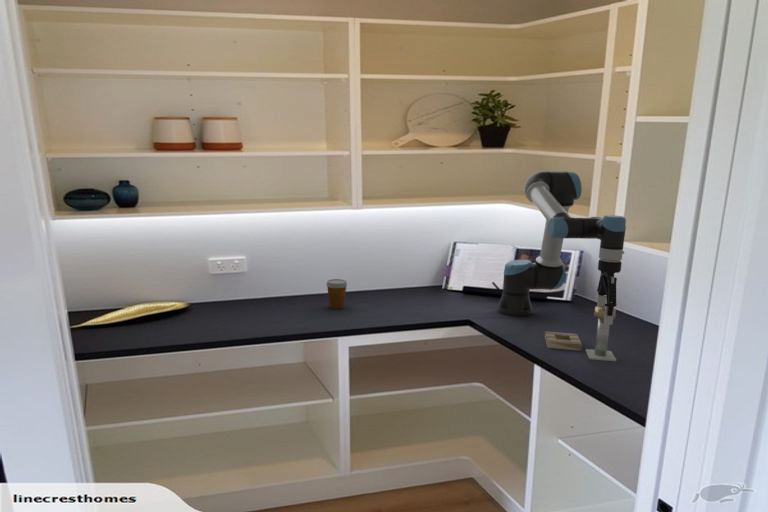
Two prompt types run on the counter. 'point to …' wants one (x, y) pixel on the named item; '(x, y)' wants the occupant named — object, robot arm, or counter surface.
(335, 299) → the orange pill bottle
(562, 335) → the plate
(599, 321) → the steel peg
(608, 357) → the rubber mat
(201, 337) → the counter surface
